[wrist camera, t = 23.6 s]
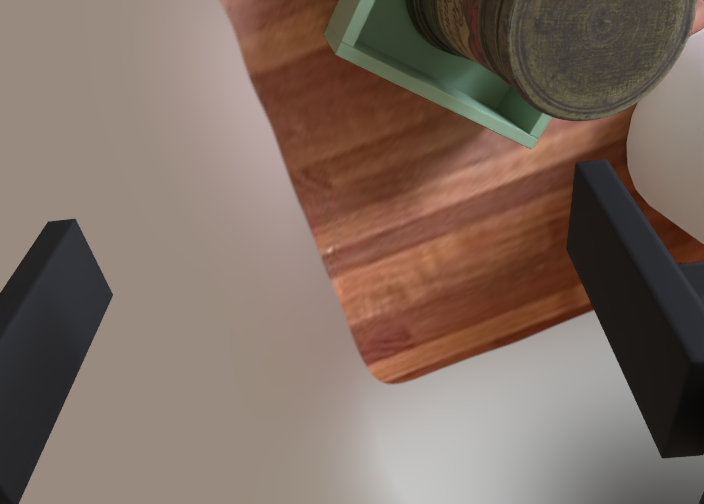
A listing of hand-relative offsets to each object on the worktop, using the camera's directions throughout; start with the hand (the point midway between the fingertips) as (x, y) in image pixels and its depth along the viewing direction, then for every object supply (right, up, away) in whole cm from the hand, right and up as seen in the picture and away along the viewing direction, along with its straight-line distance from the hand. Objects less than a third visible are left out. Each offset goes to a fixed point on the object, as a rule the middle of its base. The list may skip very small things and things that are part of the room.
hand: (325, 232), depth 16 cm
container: (+8, +17, +25) cm, 31 cm away
